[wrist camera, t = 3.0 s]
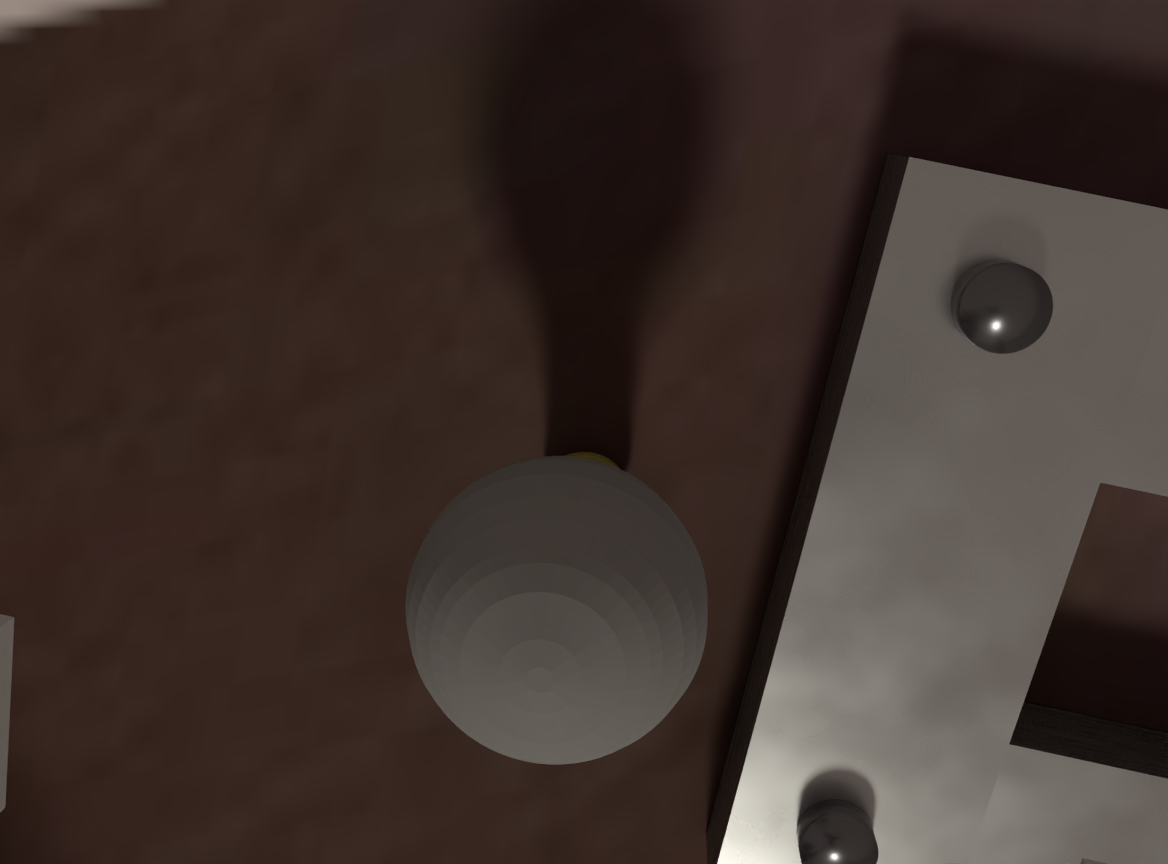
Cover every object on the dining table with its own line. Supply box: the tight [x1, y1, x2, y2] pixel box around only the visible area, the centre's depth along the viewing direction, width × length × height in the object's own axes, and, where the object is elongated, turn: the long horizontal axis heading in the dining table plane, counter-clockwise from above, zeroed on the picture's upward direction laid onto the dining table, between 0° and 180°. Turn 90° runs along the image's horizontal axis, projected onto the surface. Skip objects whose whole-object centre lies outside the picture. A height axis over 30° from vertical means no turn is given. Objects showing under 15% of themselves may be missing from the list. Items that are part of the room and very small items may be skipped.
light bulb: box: [406, 452, 708, 764], centre depth 22 cm, size 6×6×10 cm
